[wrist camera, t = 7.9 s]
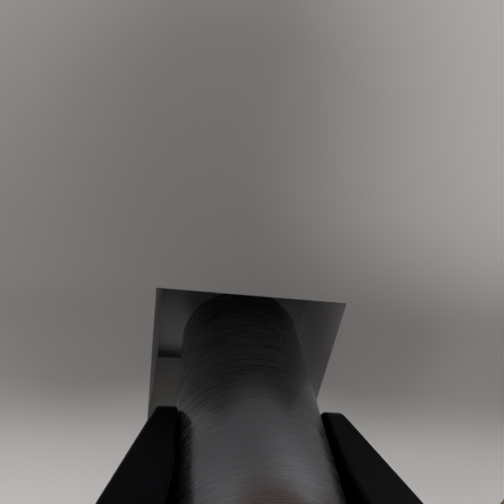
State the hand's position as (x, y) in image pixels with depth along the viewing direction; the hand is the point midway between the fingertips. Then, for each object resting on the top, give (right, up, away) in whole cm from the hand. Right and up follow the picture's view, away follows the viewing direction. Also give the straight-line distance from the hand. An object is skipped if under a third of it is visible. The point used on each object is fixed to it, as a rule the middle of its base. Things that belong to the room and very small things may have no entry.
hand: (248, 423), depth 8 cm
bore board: (0, +2, +4) cm, 4 cm away
